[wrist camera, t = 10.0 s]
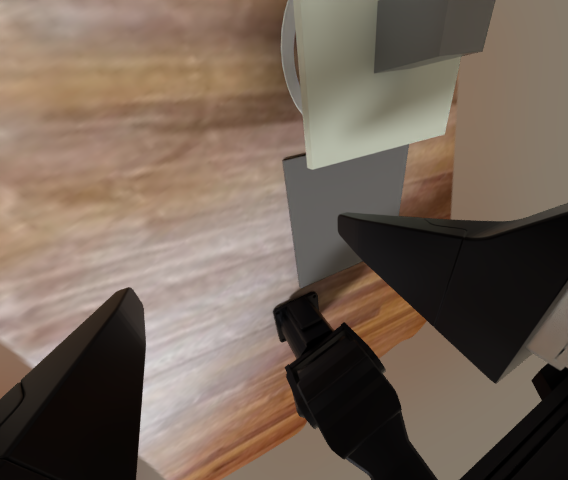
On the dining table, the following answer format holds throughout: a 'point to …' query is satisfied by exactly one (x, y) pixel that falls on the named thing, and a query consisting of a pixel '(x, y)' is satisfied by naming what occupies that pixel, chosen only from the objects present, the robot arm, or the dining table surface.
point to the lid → (380, 71)
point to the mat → (338, 206)
